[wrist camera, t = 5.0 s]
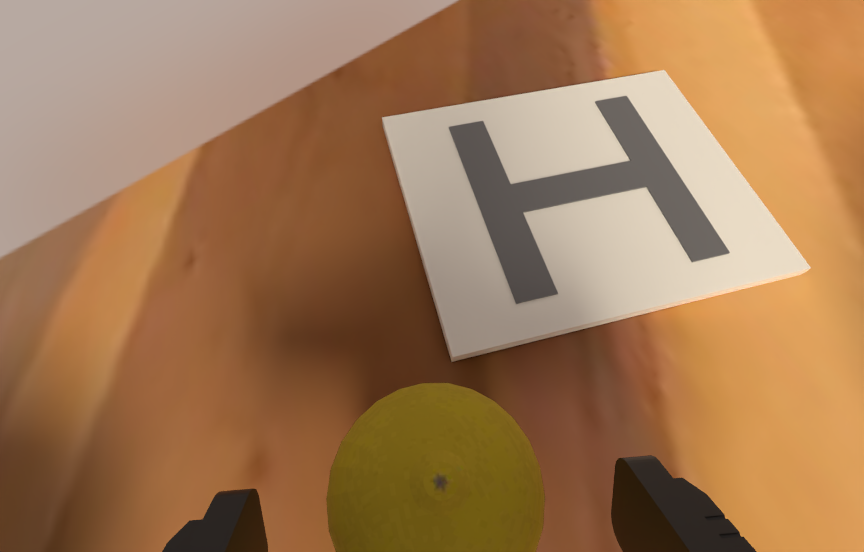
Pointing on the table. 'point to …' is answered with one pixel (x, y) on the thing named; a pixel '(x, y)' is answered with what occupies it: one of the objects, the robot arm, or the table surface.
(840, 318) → the table surface
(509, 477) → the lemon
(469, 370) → the table surface
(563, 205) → the letter board
